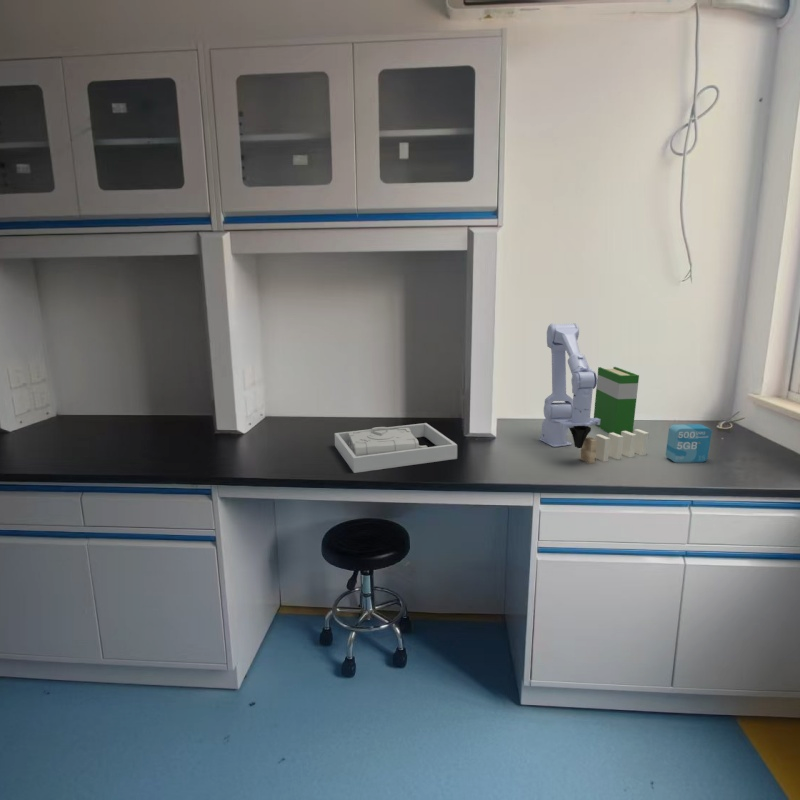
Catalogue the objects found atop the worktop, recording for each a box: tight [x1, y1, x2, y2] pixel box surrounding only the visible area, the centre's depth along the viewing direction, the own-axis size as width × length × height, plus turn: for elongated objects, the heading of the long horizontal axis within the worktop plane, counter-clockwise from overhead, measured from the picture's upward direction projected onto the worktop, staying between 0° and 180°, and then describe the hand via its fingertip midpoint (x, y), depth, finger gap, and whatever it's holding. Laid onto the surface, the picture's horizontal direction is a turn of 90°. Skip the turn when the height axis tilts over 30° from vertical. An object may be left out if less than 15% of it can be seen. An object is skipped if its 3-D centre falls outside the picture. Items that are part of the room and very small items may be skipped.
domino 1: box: [580, 435, 597, 465], centre depth 171 cm, size 5×2×8 cm, turn 20°
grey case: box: [347, 426, 428, 456], centre depth 182 cm, size 19×28×8 cm
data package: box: [665, 423, 712, 463], centre depth 171 cm, size 12×4×12 cm, turn 91°
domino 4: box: [621, 431, 636, 458], centre depth 177 cm, size 5×2×8 cm, turn 20°
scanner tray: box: [334, 422, 458, 474], centre depth 181 cm, size 27×36×5 cm
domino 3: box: [607, 433, 623, 461], centre depth 175 cm, size 5×2×8 cm, turn 20°
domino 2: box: [594, 433, 610, 463], centre depth 173 cm, size 5×2×8 cm, turn 20°
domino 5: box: [633, 428, 650, 456], centre depth 179 cm, size 5×2×8 cm, turn 20°
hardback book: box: [593, 366, 640, 435], centre depth 203 cm, size 18×7×24 cm, turn 5°
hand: (578, 447), depth 170 cm, fingers closed
